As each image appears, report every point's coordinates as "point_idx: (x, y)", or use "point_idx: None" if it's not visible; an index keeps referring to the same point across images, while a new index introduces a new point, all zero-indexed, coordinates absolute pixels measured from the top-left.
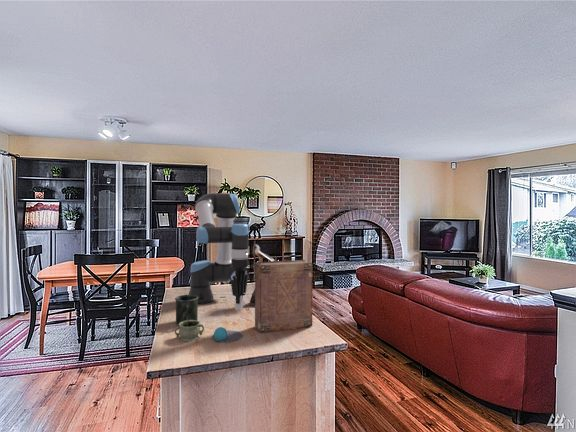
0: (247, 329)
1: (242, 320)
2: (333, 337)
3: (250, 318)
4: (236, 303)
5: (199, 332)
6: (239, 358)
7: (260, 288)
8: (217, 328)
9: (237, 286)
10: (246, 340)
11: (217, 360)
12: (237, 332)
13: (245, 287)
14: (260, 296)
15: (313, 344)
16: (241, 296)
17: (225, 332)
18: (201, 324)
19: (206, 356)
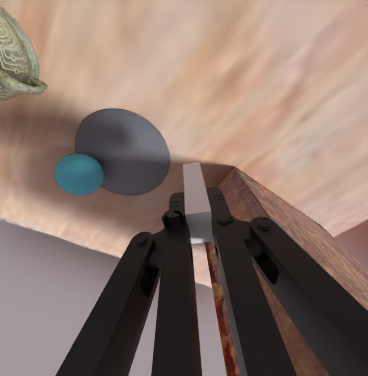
0: (202, 164)
1: (275, 83)
2: None
3: (309, 95)
4: (184, 185)
5: (21, 92)
6: (79, 244)
7: (231, 367)
8: (59, 178)
9: (132, 357)
10: (142, 208)
11: (37, 227)
12: (162, 162)
13: (277, 289)
14: (220, 311)
15: (203, 278)
16: (197, 241)
17: (86, 194)
18: (9, 87)
19: (20, 203)
